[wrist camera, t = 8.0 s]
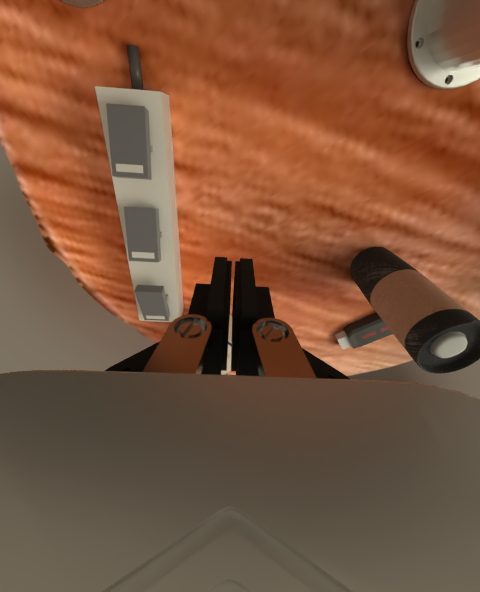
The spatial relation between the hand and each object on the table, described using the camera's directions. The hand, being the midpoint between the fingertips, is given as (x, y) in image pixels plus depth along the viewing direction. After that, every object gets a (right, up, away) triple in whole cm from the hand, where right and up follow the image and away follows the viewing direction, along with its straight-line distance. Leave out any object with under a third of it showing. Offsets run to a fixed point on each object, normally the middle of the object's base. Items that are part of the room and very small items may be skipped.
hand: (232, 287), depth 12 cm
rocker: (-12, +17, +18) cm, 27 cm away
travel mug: (+23, +5, +32) cm, 40 cm away
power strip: (-13, +12, +27) cm, 32 cm away
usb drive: (+26, -6, +40) cm, 48 cm away
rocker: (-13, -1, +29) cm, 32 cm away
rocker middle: (-13, +8, +23) cm, 28 cm away
